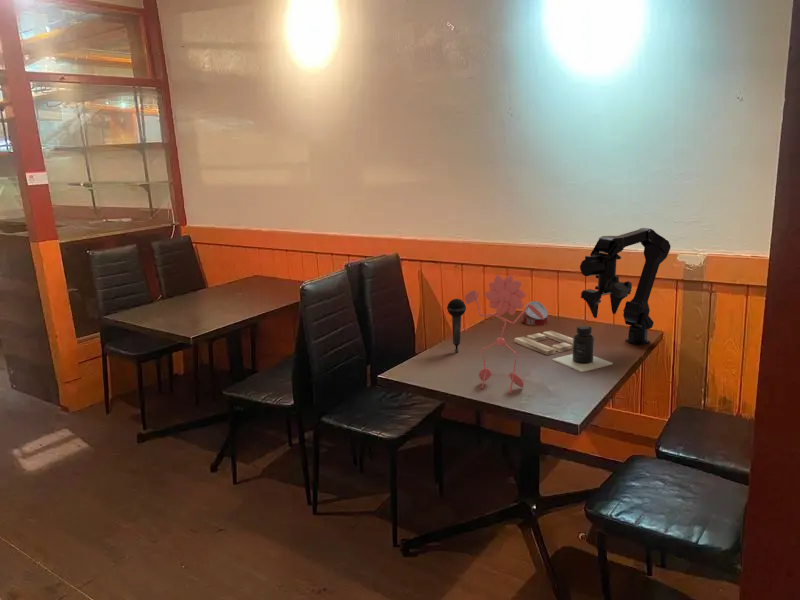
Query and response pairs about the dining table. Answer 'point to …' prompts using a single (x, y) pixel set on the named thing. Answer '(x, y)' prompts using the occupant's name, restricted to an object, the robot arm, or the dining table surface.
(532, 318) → the canned food
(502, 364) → the dining table surface
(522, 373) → the dining table surface
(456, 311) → the microphone
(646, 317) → the robot arm
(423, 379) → the dining table surface
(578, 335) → the supplement bottle
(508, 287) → the figurine
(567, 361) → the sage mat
